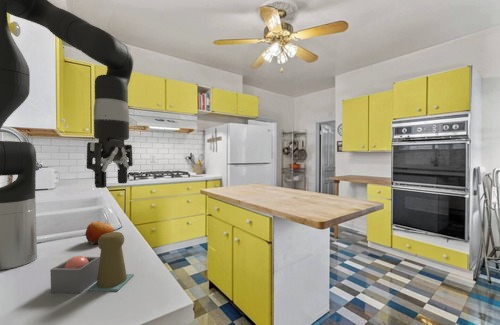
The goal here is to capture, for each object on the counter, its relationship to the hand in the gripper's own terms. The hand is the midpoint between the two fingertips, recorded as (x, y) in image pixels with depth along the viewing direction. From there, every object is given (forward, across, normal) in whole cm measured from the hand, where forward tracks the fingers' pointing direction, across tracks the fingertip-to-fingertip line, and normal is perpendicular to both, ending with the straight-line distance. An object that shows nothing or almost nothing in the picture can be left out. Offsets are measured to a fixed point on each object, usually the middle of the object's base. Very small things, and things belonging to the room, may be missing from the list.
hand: (112, 185), depth 59 cm
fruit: (+23, +20, +18) cm, 35 cm away
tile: (+22, -6, -3) cm, 23 cm away
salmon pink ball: (+21, -7, +4) cm, 22 cm away
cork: (+21, -5, -3) cm, 22 cm away
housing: (+22, -7, +4) cm, 23 cm away
